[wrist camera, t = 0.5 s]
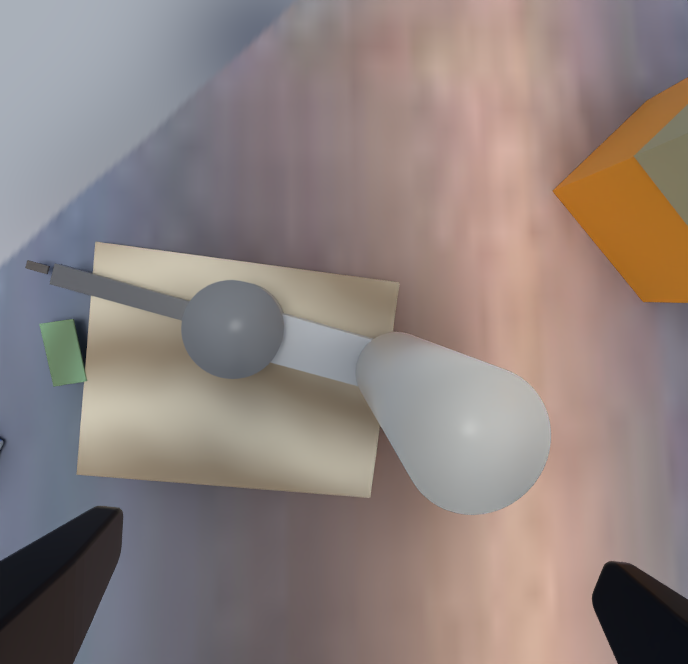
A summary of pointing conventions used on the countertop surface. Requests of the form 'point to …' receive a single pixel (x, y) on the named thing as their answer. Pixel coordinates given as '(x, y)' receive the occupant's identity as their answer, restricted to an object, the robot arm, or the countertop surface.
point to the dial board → (217, 383)
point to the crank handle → (370, 385)
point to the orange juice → (640, 197)
